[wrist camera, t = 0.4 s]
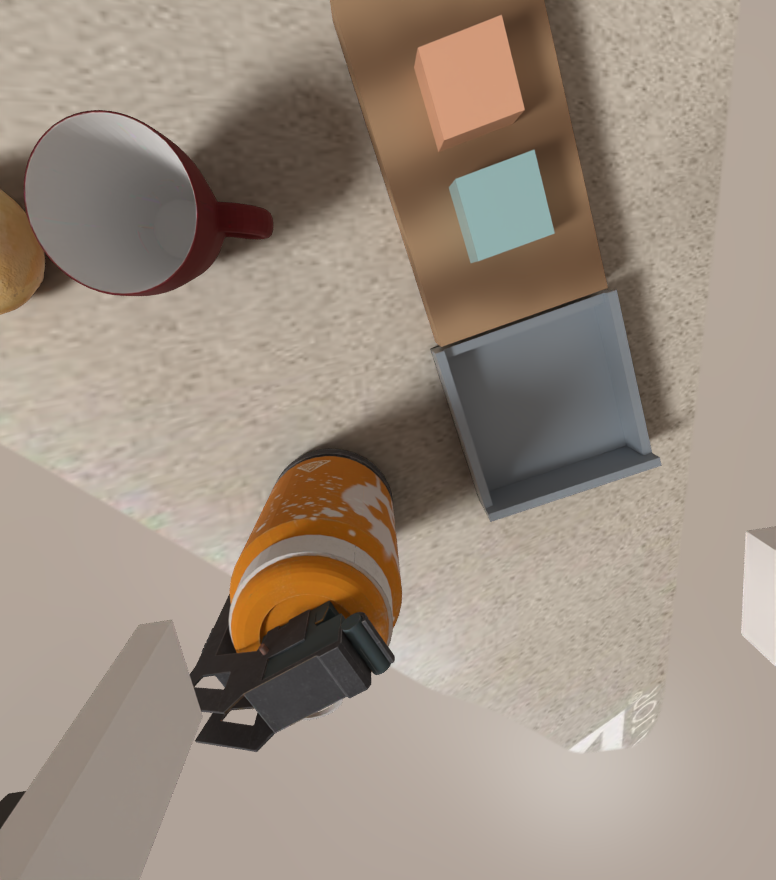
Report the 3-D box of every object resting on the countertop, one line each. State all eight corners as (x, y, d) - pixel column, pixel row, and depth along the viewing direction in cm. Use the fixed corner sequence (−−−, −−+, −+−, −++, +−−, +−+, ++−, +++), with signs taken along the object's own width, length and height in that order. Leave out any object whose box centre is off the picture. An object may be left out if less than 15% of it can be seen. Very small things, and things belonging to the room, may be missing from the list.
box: (430, 349, 37) (437, 355, 33) (596, 289, 36) (624, 289, 32) (479, 499, 40) (490, 521, 36) (632, 448, 39) (661, 465, 35)
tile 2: (413, 67, 29) (417, 47, 27) (490, 37, 29) (501, 14, 27) (438, 152, 31) (444, 140, 28) (512, 124, 30) (524, 109, 28)
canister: (414, 521, 40) (453, 732, 21) (292, 588, 42) (224, 844, 22) (353, 423, 38) (334, 560, 19) (226, 497, 39) (87, 695, 20)
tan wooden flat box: (332, 20, 31) (328, -7, 28) (510, -51, 31) (525, -87, 28) (435, 342, 37) (441, 346, 34) (589, 288, 36) (608, 288, 33)
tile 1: (448, 187, 31) (455, 179, 29) (521, 160, 31) (534, 149, 29) (470, 263, 32) (478, 261, 30) (541, 237, 32) (554, 233, 30)
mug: (273, 149, 33) (234, 92, 23) (294, 283, 35) (265, 280, 26) (106, 169, 33) (-2, 119, 23) (137, 301, 35) (50, 305, 26)
